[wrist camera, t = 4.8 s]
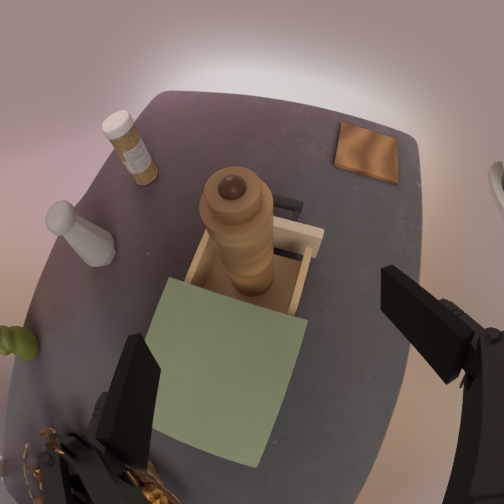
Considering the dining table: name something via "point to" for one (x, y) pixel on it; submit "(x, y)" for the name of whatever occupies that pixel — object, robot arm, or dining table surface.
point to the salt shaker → (81, 234)
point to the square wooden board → (367, 153)
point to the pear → (18, 342)
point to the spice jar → (130, 147)
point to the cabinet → (221, 369)
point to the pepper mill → (241, 227)
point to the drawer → (284, 271)
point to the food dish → (144, 479)
